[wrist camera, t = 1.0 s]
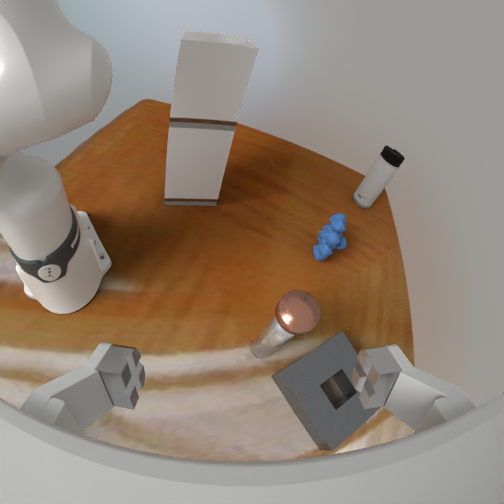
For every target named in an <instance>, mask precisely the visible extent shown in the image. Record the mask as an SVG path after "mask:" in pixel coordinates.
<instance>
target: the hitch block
mask: <svg viewBox="0 0 504 504" xmlns="http://www.w3.org/2000/svg"><path fill="white" fill-rule="evenodd" d="M357 357H358V354H357V352H356V351H355V349H354V348H353V346H352V345H351V343H350V342H349V340H348V339H347V337H346V336H345V334H344V333H343V331H341V332H340V333H338V334H337V335H335V336H334V337H332V338H331V339H329V340H328V341H326V342H325V343H323V344H322V345H320V346H319V347H317V348H316V349H314V350H313V351H311V352H310V353H308V354H307V355H305V356H304V357H302V358H300V359H299V360H297V361H296V362H294V363H292V364H291V365H289V366H288V367H286V368H284V369H283V370H281V371H279V372H278V373H276V374H274V375H272V378H273V379H274V381H275V383H276V384H277V386H278V387H279V389H280V391H281V392H282V394H283V395H284V397H285V398H286V400H287V401H288V403H289V405H290V406H291V408H292V409H293V411H294V412H295V414H296V415H297V417H298V418H299V420H300V421H301V423H302V424H303V426H304V427H305V429H306V430H307V432H308V433H309V435H310V436H311V438H312V439H313V440H314V442H315V443H316V445H317V446H318V448H319V449H320V450H326V451H333V450H334V449H335V448H336V447H338V446H339V445H340V444H341V443H342V442H344V441H345V440H346V439H347V438H348V437H349V436H350V435H352V434H353V433H354V432H355V431H356V430H357V429H358V428H359V427H360V426H362V425H363V424H364V423H365V422H366V421H367V420H368V419H369V418H370V417H371V416H372V415H373V414H374V413H375V412H376V411H377V410H378V409H379V408H380V407H381V406H380V407H375V408H369V409H364V407H363V405H362V403H361V400H360V398H359V396H360V393H361V392H359V391H358V390H356V389H355V387H354V384H353V370H354V366H355V365H357V364H358V363H359V360H358V358H357ZM330 377H333V379H334V380H335V382H336V383H337V385H338V386H339V388H340V389H341V391H342V392H343V394H344V397H342V398H341V399H340V400H339V401H338V402H336V403H335V404H334V405H332V404H331V402H330V401H329V399H328V398H327V396H326V395H325V393H324V391H323V390H322V388H321V387H320V385H321V384H322V383H324V382H325V381H326V380H328V379H329V378H330Z"/></svg>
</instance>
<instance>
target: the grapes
mask: <svg viewBox="0 0 504 504" xmlns="http://www.w3.org/2000/svg"><path fill="white" fill-rule="evenodd" d="M329 221H330V224H327V225H324V226H323V229H322V230H320V231H319V234H320V236H318V237H317V240H318V245H315V246H313V254H314V257H315V259H316V260H318V261H321V260H324V259H327V256H330V255H332V250H334V249H335V248H336V249H339V250H340V249H344V248H346V247H347V243H346V239H345V238H344V237H342V234H343V233H342V232H344V231H346V227H345V224H346V218H345V215H344V214H343V213H337V214H335V215H332V217H329Z"/></svg>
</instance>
